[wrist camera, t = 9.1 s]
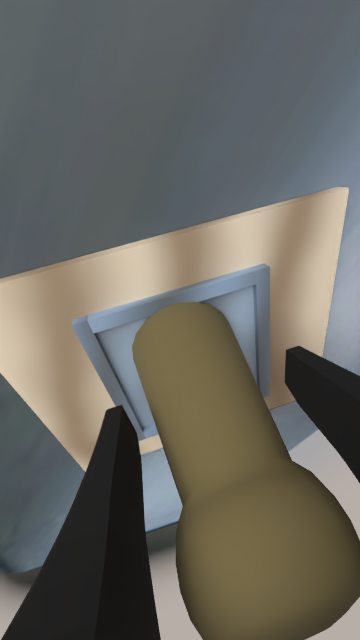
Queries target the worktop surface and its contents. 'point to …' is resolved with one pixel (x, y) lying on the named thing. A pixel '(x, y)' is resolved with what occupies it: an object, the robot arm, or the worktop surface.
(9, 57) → the worktop surface
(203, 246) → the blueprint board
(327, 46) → the worktop surface
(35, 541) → the worktop surface
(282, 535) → the cork
